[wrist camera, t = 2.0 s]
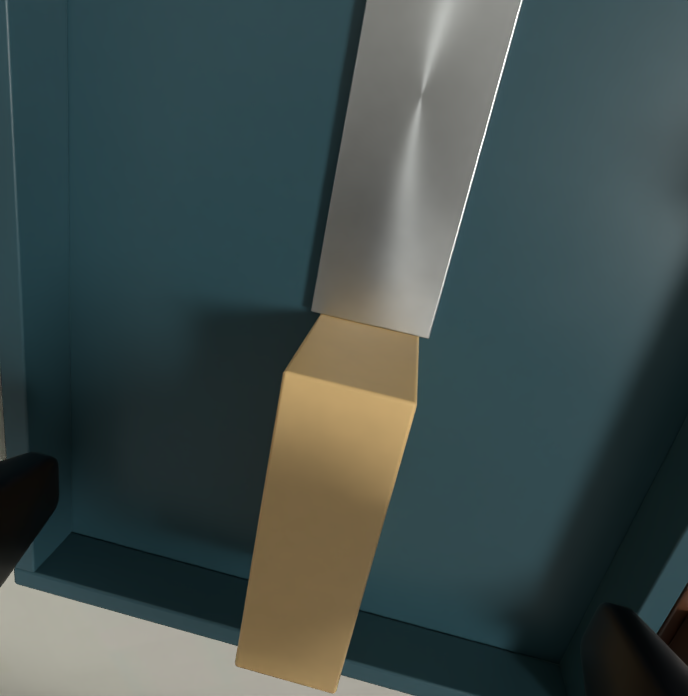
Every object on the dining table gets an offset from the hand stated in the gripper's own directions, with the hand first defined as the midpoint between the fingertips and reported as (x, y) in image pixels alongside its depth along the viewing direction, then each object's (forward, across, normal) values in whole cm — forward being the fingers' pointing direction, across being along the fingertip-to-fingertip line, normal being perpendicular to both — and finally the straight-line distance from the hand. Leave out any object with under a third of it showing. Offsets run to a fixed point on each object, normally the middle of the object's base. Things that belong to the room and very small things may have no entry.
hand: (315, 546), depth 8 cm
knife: (+4, 0, -4) cm, 5 cm away
